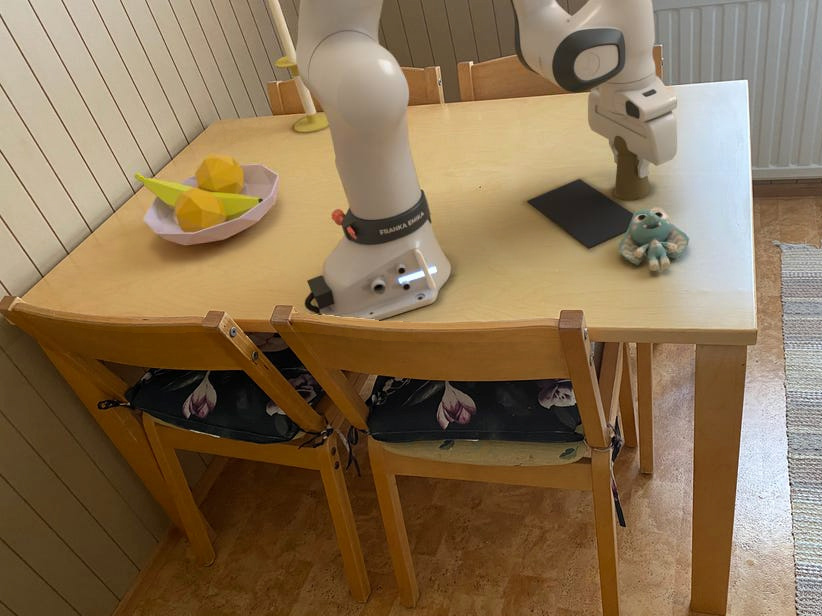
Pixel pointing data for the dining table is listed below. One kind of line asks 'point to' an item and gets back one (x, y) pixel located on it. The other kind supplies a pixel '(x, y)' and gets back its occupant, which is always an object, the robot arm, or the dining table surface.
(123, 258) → the dining table surface
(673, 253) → the stuffed animal
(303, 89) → the candle
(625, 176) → the cork
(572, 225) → the mat
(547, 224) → the dining table surface
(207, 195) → the fruit bowl
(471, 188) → the dining table surface
